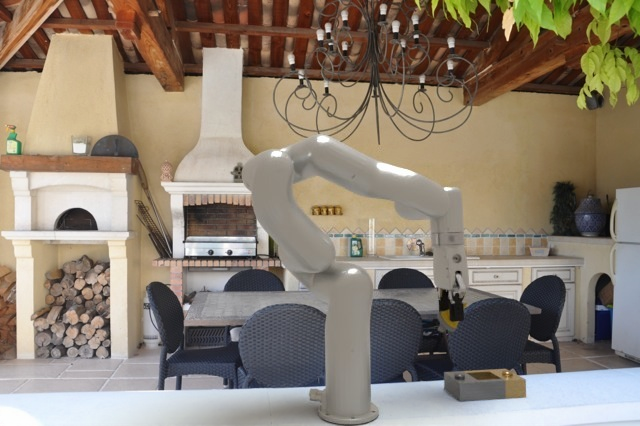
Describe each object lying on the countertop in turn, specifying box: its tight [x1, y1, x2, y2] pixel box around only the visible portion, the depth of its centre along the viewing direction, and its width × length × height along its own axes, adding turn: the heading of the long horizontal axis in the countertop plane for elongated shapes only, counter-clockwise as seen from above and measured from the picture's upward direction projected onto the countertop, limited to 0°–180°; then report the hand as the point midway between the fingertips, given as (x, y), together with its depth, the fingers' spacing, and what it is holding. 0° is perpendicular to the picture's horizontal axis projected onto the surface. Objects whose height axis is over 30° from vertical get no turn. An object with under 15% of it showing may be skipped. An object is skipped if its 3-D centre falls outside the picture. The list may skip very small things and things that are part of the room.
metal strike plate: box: [443, 368, 527, 402], centre depth 119 cm, size 16×9×5 cm, turn 99°
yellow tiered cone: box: [436, 302, 468, 333], centre depth 116 cm, size 5×5×10 cm
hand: (451, 317), depth 117 cm, fingers closed on yellow tiered cone, 5 cm apart
